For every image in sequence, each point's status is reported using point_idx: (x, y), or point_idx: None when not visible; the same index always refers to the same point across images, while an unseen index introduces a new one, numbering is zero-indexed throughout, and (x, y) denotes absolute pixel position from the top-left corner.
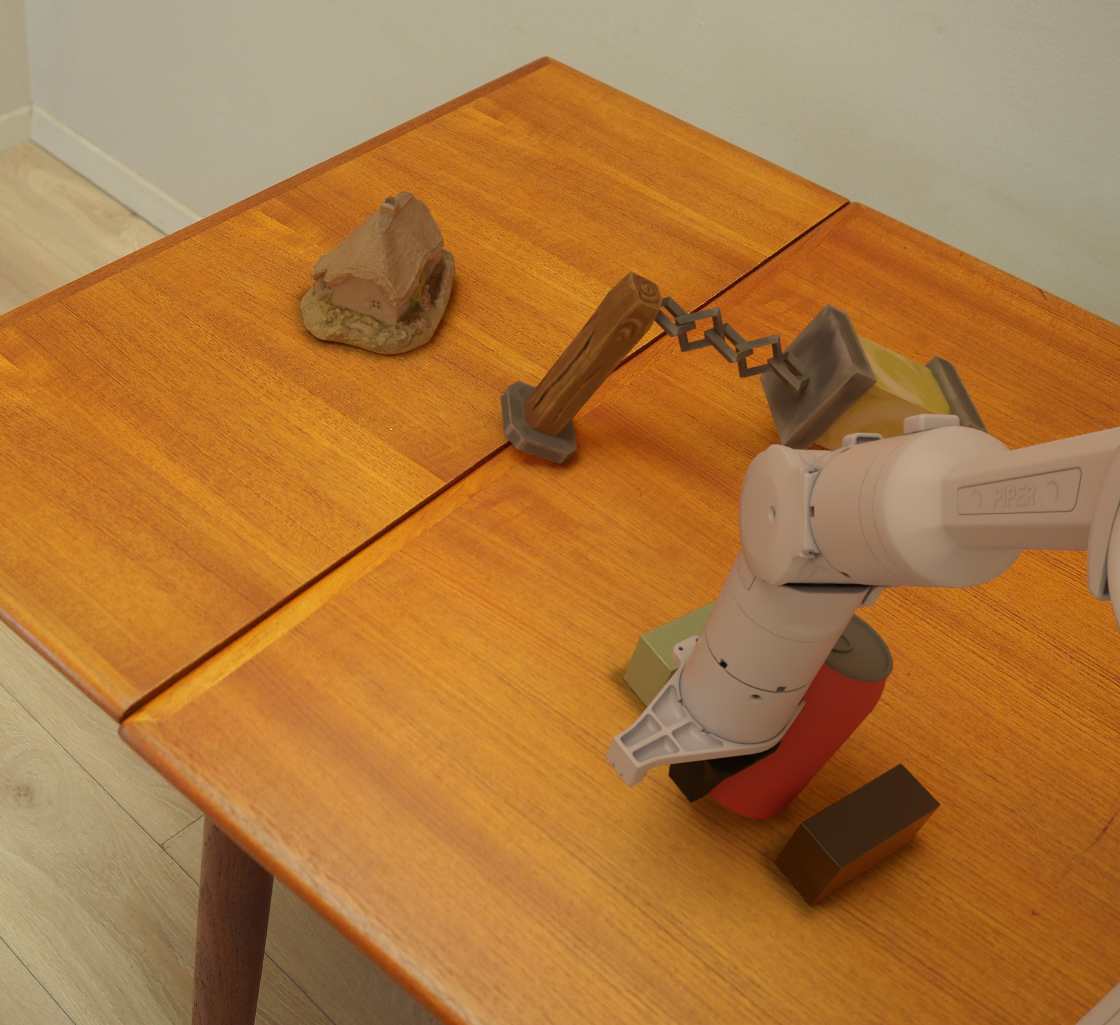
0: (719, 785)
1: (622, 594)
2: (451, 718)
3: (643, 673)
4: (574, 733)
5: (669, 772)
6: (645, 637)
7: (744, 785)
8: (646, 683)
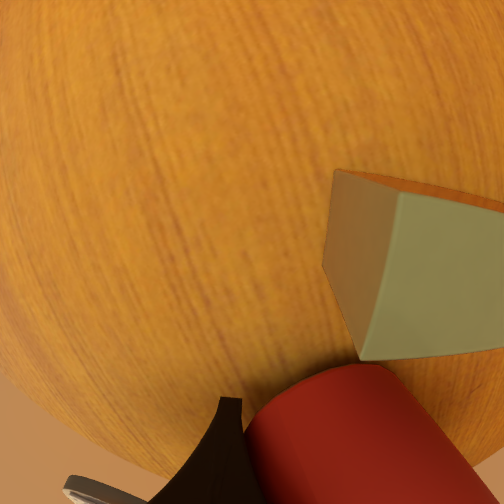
0: None
1: (456, 41)
2: (23, 106)
3: (347, 232)
4: (156, 218)
5: (219, 401)
6: (407, 213)
7: None
8: (340, 245)
